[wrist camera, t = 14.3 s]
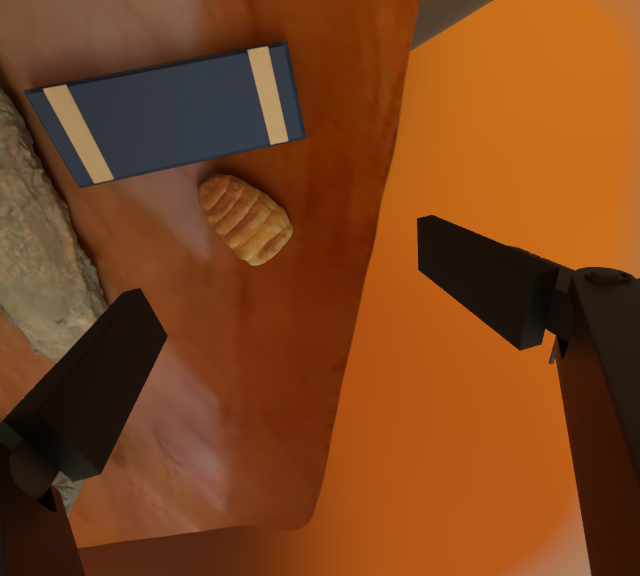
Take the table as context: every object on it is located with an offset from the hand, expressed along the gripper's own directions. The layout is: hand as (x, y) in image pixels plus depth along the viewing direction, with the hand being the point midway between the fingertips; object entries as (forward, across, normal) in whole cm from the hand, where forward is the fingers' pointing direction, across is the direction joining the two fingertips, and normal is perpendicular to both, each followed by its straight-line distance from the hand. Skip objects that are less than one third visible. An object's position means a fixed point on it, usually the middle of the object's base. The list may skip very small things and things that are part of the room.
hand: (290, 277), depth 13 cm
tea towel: (+18, -6, +9) cm, 21 cm away
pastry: (+18, -3, -1) cm, 19 cm away
